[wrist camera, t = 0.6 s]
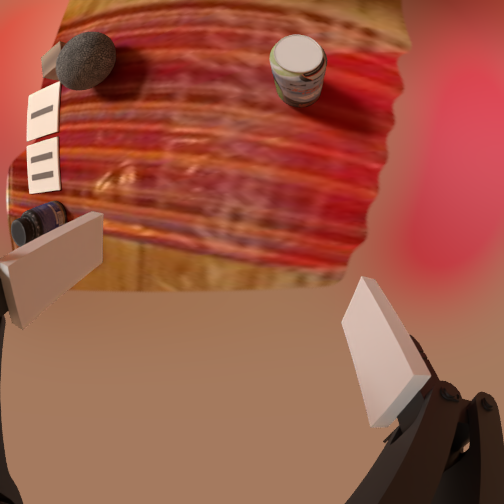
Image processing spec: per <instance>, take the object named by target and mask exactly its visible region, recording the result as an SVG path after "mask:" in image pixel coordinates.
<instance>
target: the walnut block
mask: <svg viewBox="0 0 504 504" xmlns="http://www.w3.org/2000/svg"><path fill="white" fill-rule="evenodd" d="M65 44H66V43H64V42H61V41H60V42H58V43H57V44H56V45H55V46H54V47H52V48H51V49H50V50H49V51H48V52H47V53H46V54H45V55H43V56H42V57H41V61H42V72H43V78H48V79H54V80H59V79H58V77H57V74H56V60H57V57H58V55H59V53H60V51H61V49H62V48H63V47H64V45H65Z"/></svg>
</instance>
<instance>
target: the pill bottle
mask: <svg viewBox="0 0 504 504" xmlns="http://www.w3.org/2000/svg"><path fill="white" fill-rule="evenodd" d="M66 220H67V217H66V212H65V209H64V207H63V205H62V204H61V203H60V202H58V201H52V202H48V203H46V204H43V205H40V206H38V207H35V208H32V209H30V210H27V211H25V212H24V213H23V214H22V216H21V218H18V219H16V220H14V221H13V222H12V225H11V233H12V237H13V239H14V241H15V243H16V244H17V245H18V246H20V247H21V246H23V245H25V244H27V243H29V242H30V241H32V240H34V239H36V238H38V237H40V236H42V235H44V234H46V233H48V232H50V231H52V230H54V229H56V228H58V227H60V226H62V225H64V224H66Z"/></svg>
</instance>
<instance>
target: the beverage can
mask: <svg viewBox="0 0 504 504" xmlns="http://www.w3.org/2000/svg"><path fill="white" fill-rule="evenodd" d="M270 65H271V69H272V73H273V77H274V81H275V85H276V89H277V93H278V95H279V97H280V98H281V99H282V100H283V101H284V102H285V103H287V104H288V105H291V106H294V107H306V106H309V105H312V104H313V103H315V102H316V101H317V99H318V98H319V96H320V94H321V89H322V85H323V80H324V75H325V71H326V66H327V57H326V54H325V52H324V50H323V49H322V47H321V46H320V45H319V44H318V43H317V42H316V41H315V40H313V39H312V38H310V37H307V36H304V35H290V36H287V37H284V38H282V39H281V40H280V41H279V42H278V43H277V44H276V45H275V46H274V47H273V49H272V50H271V53H270Z"/></svg>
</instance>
